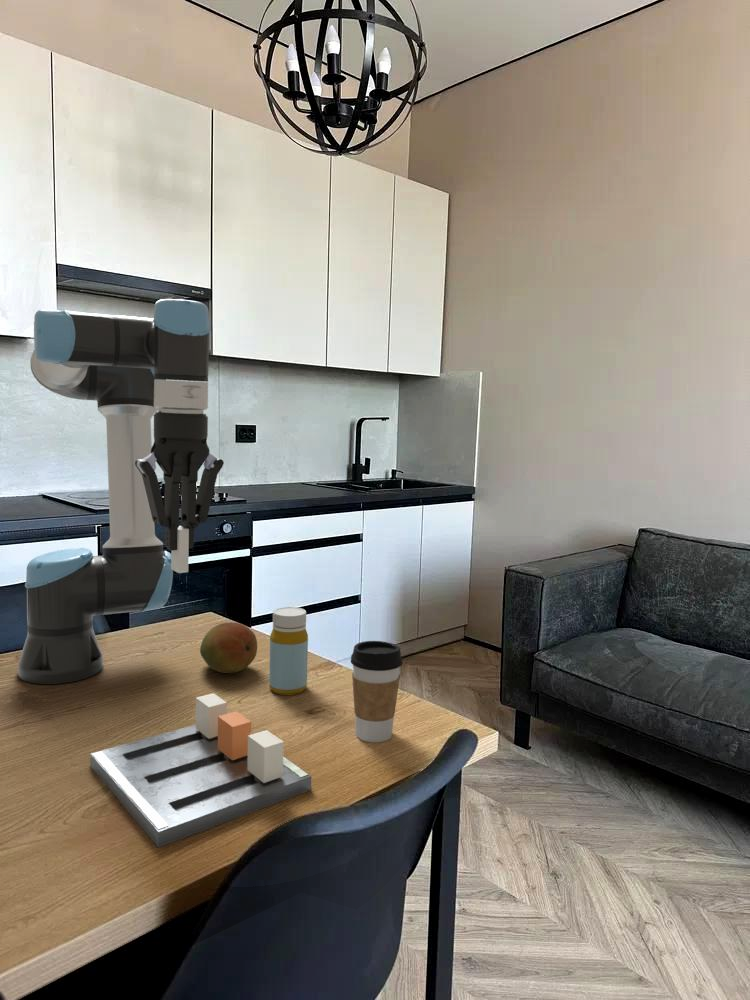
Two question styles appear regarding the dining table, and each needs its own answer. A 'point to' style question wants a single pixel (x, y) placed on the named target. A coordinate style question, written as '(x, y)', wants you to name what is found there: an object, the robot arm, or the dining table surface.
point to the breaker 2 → (265, 756)
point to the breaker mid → (233, 735)
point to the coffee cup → (375, 688)
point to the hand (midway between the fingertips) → (179, 570)
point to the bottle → (288, 651)
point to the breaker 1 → (209, 714)
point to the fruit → (229, 647)
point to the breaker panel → (188, 783)
